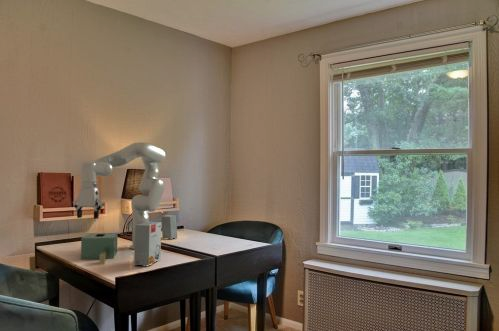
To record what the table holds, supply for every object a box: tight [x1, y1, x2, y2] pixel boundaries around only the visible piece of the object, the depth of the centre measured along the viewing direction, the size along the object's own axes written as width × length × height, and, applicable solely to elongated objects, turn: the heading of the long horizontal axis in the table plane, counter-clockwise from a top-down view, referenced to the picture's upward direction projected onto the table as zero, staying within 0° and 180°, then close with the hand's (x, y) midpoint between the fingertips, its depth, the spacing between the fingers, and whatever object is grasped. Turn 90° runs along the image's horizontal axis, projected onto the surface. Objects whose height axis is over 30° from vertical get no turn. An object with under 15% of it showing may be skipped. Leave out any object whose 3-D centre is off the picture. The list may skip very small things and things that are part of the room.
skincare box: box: [161, 214, 178, 240], centre depth 270 cm, size 8×7×16 cm
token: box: [99, 252, 107, 265], centre depth 198 cm, size 2×6×5 cm, turn 12°
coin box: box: [80, 232, 119, 260], centre depth 214 cm, size 16×16×11 cm
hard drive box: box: [133, 221, 162, 265], centre depth 199 cm, size 16×8×20 cm, turn 170°
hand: (87, 218), depth 207 cm, fingers open, 9 cm apart
